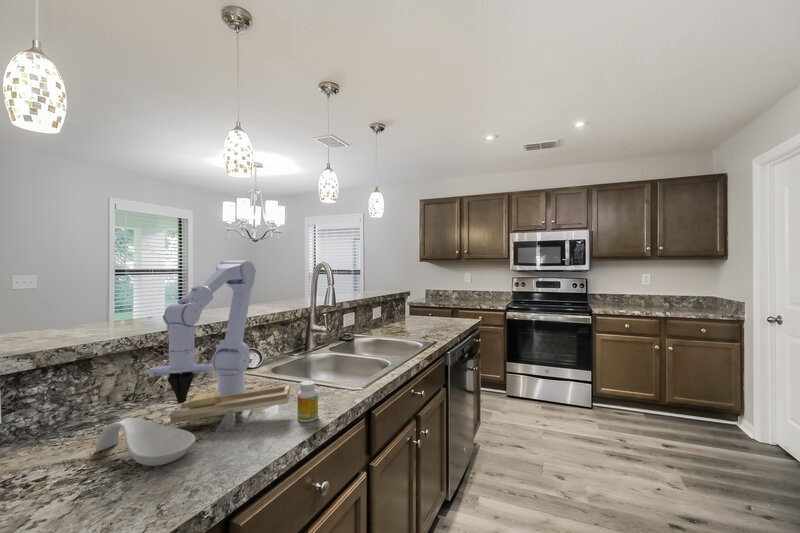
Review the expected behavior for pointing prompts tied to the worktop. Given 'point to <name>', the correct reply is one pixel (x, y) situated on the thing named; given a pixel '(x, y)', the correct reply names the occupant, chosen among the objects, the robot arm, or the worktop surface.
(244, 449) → the worktop surface
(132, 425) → the spoon rest
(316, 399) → the supplement bottle
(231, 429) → the stand
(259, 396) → the beam
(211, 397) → the block
